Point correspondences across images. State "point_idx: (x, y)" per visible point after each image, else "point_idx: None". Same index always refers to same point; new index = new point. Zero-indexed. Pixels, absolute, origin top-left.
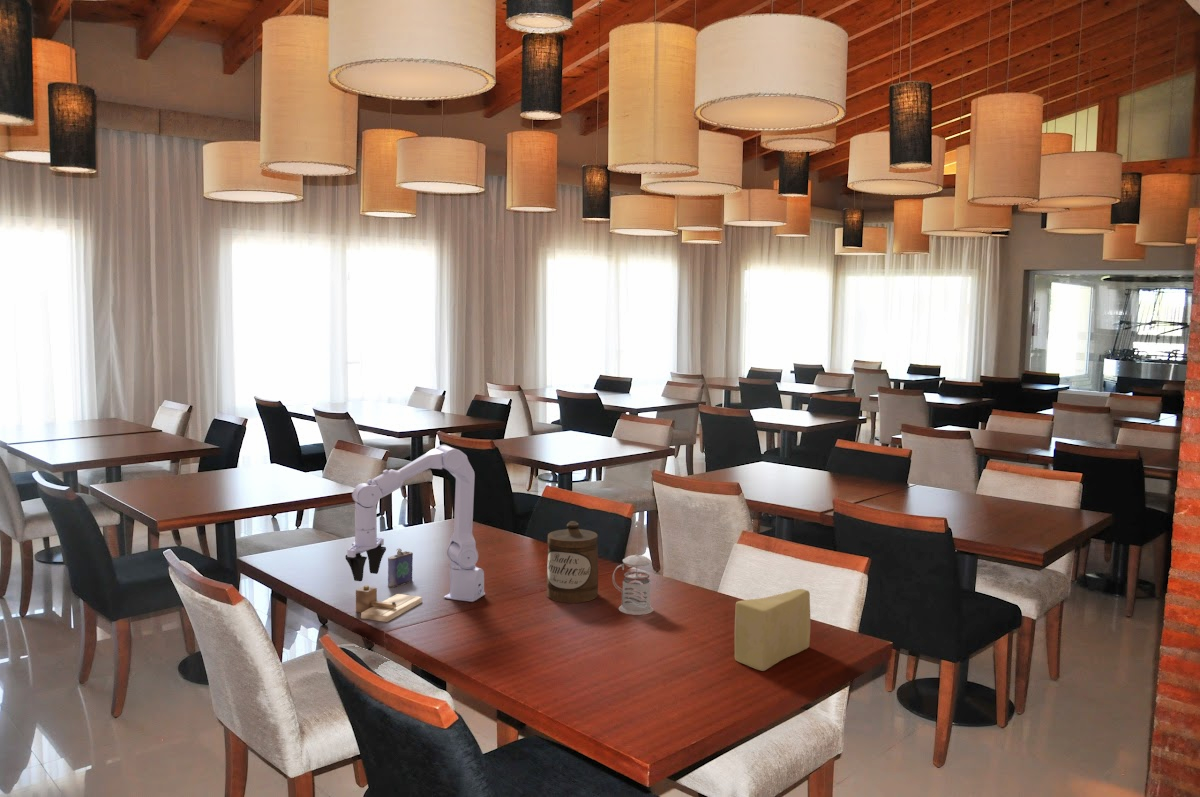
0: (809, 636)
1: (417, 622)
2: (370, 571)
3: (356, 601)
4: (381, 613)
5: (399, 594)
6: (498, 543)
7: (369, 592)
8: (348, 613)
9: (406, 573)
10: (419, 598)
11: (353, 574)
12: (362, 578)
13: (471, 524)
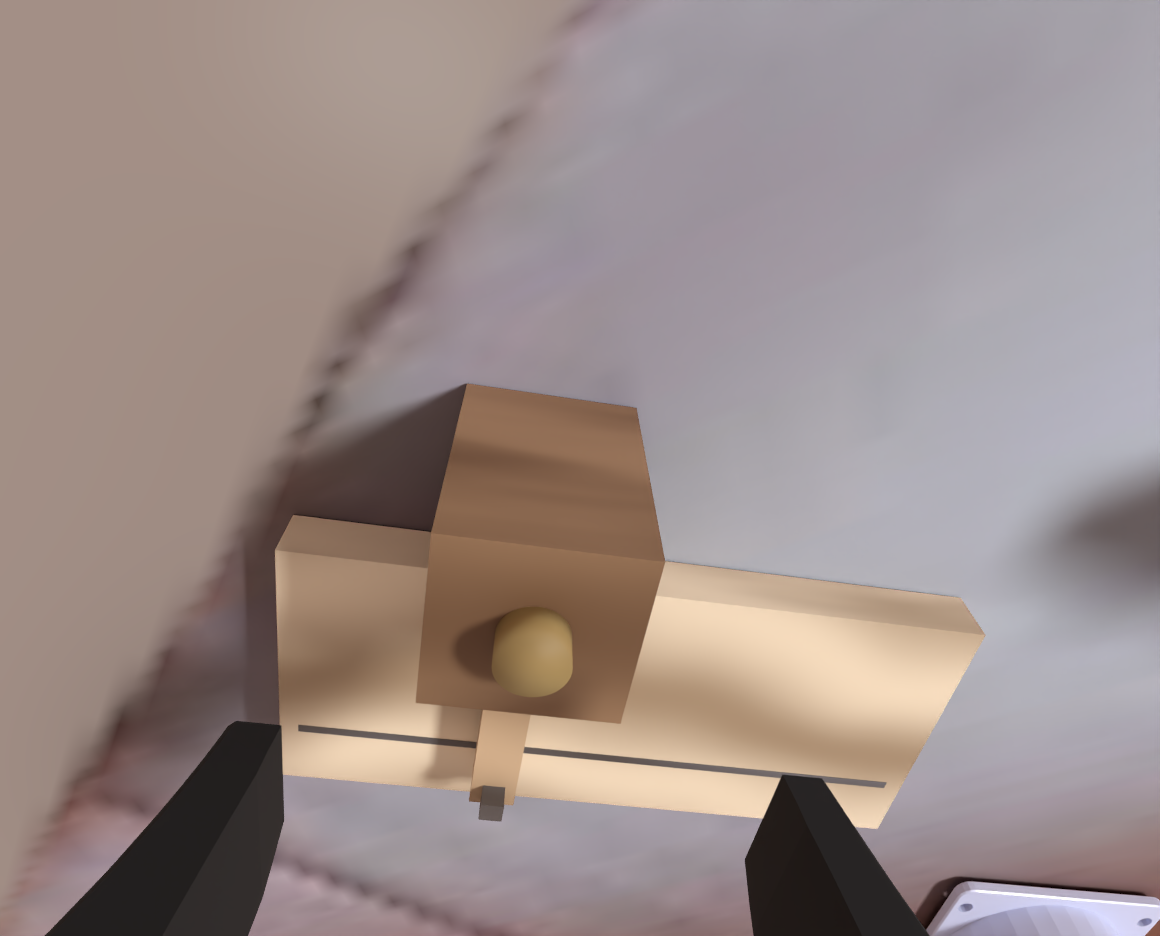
0: None
1: (377, 885)
2: (789, 805)
3: (451, 452)
4: (335, 714)
5: (956, 660)
6: None
7: (444, 693)
8: (388, 325)
9: None
10: None
11: (156, 830)
12: (263, 869)
13: None
